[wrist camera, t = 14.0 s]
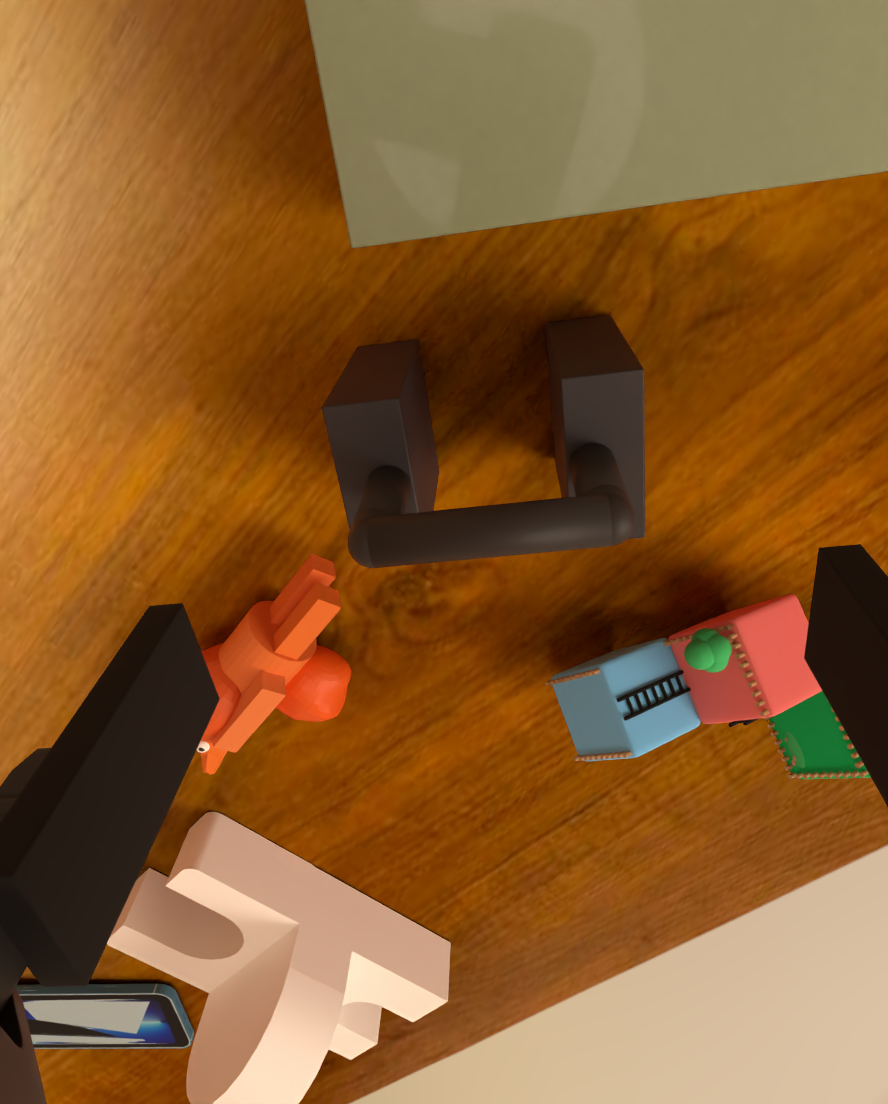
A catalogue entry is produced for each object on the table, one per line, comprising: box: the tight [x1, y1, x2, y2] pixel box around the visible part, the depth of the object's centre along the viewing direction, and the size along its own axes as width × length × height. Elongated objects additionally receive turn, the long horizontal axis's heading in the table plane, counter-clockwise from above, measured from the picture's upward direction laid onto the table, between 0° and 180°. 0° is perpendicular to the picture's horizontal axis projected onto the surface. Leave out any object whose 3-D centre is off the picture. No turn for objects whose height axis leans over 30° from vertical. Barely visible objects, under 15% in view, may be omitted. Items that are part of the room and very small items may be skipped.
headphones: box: [322, 315, 645, 568], centre depth 24 cm, size 6×10×11 cm, turn 98°
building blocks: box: [546, 594, 871, 779], centre depth 32 cm, size 8×8×12 cm
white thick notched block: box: [107, 812, 451, 1104], centre depth 42 cm, size 18×10×11 cm, turn 50°
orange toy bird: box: [197, 554, 351, 774], centre depth 34 cm, size 5×8×12 cm
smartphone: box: [15, 984, 194, 1049], centre depth 53 cm, size 7×1×15 cm
